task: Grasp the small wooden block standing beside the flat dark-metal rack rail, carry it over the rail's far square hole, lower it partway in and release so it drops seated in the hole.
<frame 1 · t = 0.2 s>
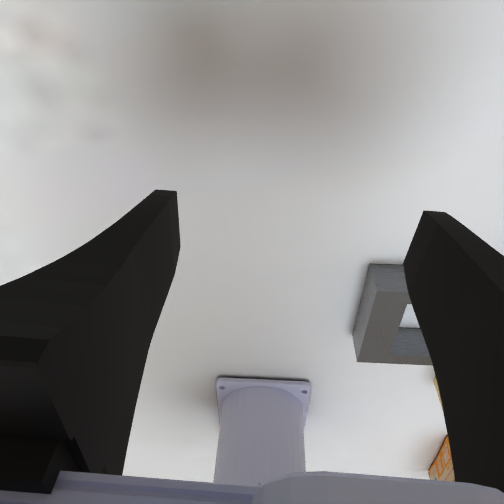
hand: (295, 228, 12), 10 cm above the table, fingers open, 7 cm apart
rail: (478, 306, 28), on the table
supplement box: (457, 452, 41), on the table
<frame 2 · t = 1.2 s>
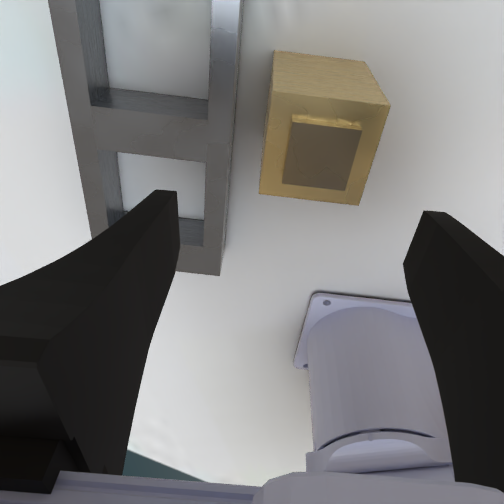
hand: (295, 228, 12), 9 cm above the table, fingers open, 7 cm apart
wooden block: (310, 101, 19), on the table
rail: (162, 115, 20), on the table
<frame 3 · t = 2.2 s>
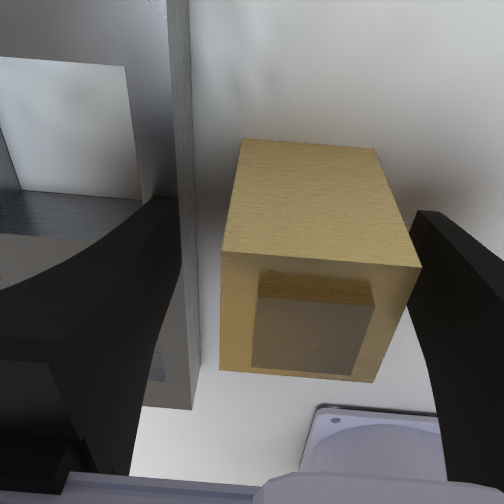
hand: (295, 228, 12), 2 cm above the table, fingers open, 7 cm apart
wooden block: (299, 199, 14), on the table
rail: (98, 220, 15), on the table
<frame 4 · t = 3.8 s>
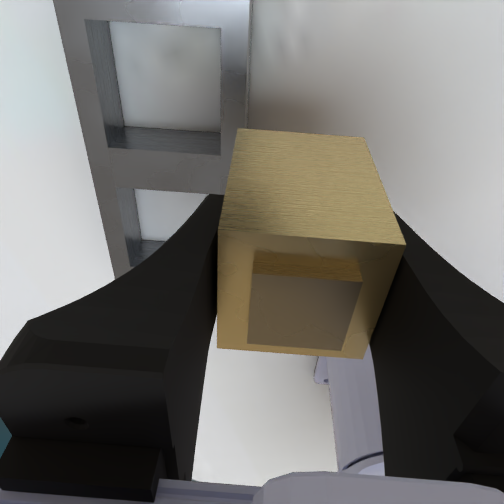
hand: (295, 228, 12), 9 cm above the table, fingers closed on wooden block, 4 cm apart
wooden block: (293, 187, 14), point 6 cm above the table, touching gripper
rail: (176, 149, 20), on the table
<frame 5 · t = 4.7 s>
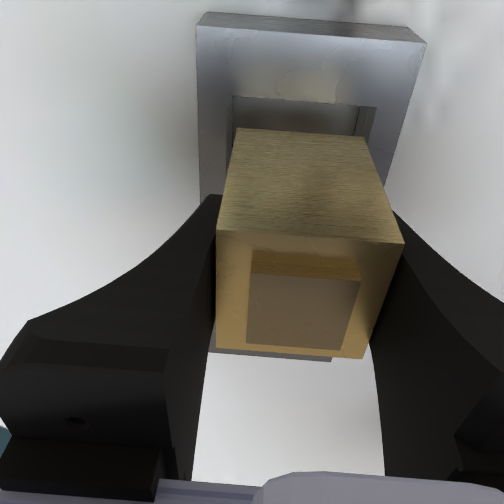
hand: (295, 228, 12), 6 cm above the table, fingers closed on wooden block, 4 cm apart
wooden block: (292, 187, 14), point 4 cm above the table, touching gripper
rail: (282, 211, 19), on the table
when the fingers open (3 cm above the table, at t = 6.1 s): wooden block stays where it is, resting in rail.
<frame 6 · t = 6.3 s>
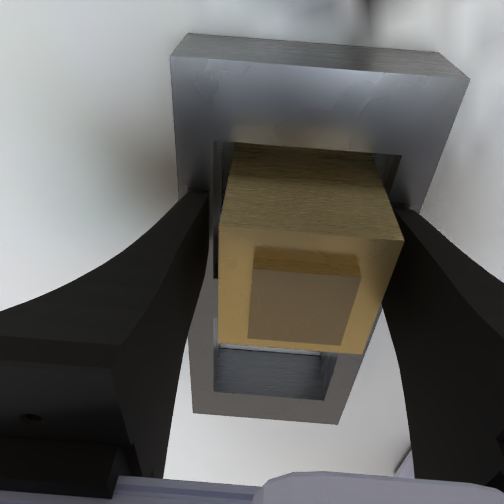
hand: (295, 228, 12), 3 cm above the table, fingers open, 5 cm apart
wooden block: (293, 185, 14), resting in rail
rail: (282, 260, 16), on the table
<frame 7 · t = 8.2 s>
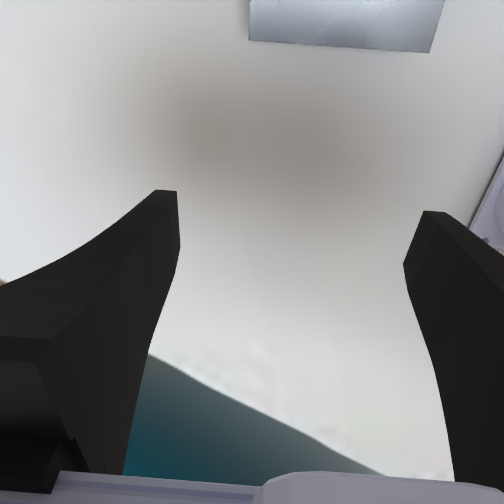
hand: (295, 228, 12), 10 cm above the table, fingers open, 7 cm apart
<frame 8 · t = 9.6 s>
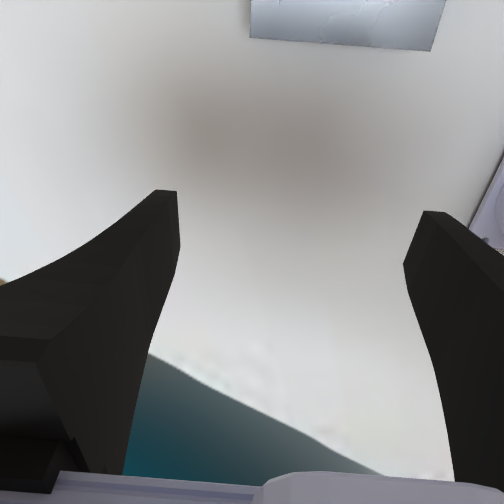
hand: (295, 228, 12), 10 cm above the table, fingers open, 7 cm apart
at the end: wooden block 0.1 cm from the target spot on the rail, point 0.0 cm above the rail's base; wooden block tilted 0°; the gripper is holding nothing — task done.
